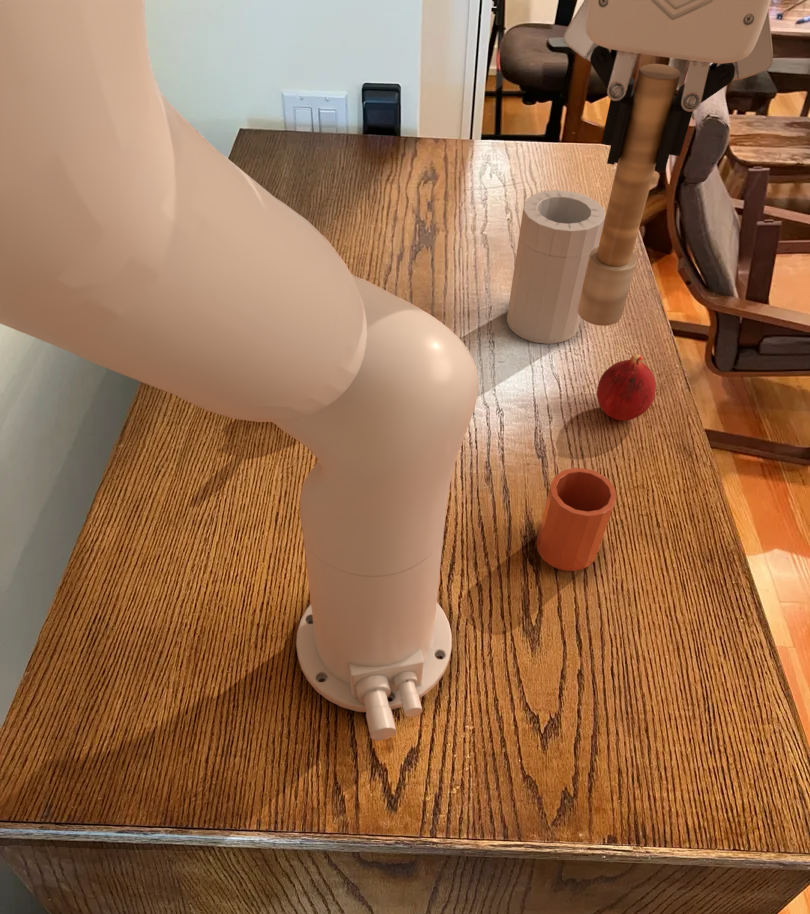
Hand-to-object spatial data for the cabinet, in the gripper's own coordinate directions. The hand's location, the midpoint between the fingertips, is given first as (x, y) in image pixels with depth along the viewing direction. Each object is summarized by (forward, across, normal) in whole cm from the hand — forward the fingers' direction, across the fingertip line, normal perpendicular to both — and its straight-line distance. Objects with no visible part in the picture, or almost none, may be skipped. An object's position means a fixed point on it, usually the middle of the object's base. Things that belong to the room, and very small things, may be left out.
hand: (638, 157), depth 53 cm
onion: (+31, +4, +9) cm, 32 cm away
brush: (+13, 0, 0) cm, 13 cm away
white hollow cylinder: (+31, -6, +24) cm, 39 cm away
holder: (+30, +2, -11) cm, 32 cm away
